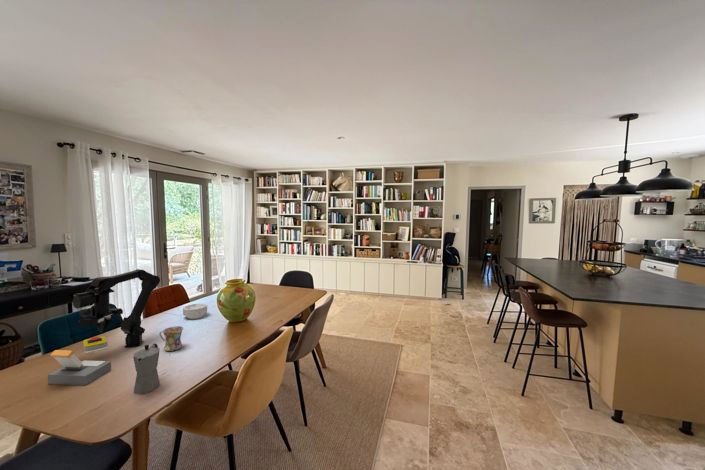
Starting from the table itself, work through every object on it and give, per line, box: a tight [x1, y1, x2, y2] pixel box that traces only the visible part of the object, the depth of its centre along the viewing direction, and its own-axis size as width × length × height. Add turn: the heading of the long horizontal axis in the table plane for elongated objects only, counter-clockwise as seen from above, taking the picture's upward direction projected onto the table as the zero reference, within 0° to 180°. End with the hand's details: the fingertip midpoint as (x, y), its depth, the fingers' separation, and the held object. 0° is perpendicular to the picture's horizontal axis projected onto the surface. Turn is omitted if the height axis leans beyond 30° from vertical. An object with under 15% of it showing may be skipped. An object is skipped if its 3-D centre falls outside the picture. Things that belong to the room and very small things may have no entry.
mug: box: [159, 325, 184, 352], centre depth 151 cm, size 12×9×11 cm
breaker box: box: [47, 360, 112, 386], centre depth 123 cm, size 12×16×4 cm
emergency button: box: [82, 335, 109, 354], centre depth 152 cm, size 9×4×15 cm
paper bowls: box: [182, 303, 208, 320], centre depth 200 cm, size 15×15×8 cm
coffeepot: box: [132, 343, 161, 395], centre depth 117 cm, size 15×9×18 cm, turn 13°
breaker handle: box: [49, 349, 83, 368], centre depth 119 cm, size 2×7×10 cm, turn 89°
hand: (102, 333), depth 140 cm, fingers closed
